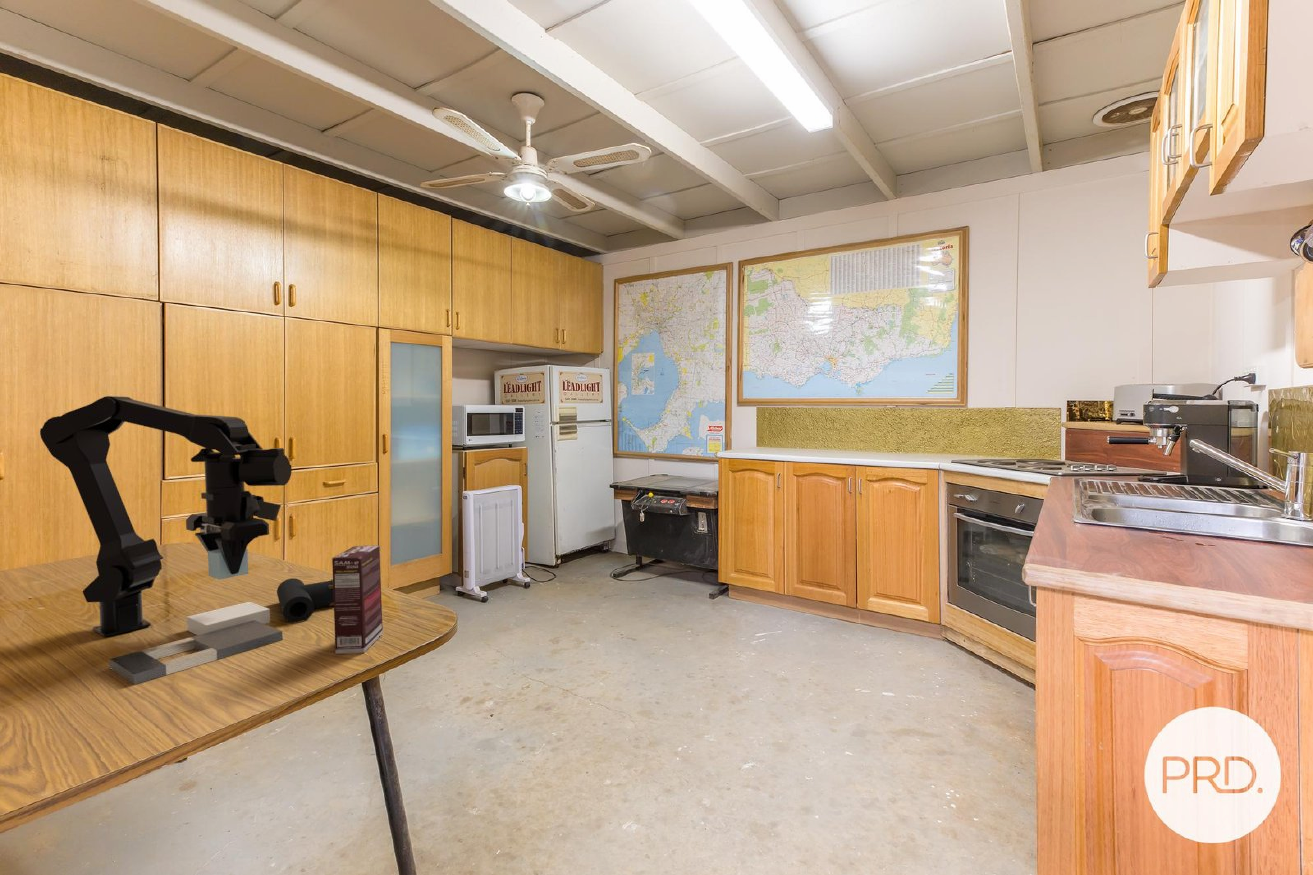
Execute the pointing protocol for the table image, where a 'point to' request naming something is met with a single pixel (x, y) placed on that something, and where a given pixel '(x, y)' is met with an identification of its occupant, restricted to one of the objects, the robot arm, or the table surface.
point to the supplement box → (357, 599)
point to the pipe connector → (303, 598)
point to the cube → (224, 565)
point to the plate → (210, 649)
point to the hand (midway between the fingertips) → (228, 571)
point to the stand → (227, 617)
